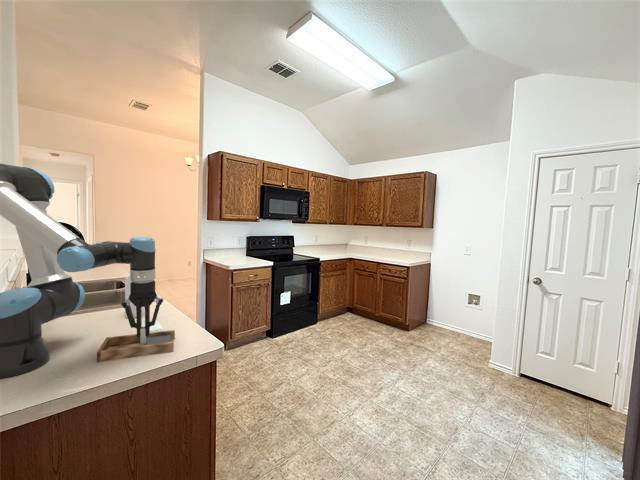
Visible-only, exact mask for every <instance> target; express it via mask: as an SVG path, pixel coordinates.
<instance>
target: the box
mask: <svg viewBox="0 0 640 480" xmlns="http://www.w3.org/2000/svg"><path fill="white" fill-rule="evenodd" d="M175 332H176V331H175V329H171V330H163V331H162V330H158V331H152V332H150V334H149V336H146V339H147V337H151V336H160V335H168V334H171V342H167V343H159V344H151V345H143V346H140V337H137V333H134V334H133V333H131V334H124V335H118V336H117V335H116V336H108V337H106V338H105V339H104V341H103V342H102V344H101V345H100V347H99V349H98V350H97V352H96V363H102V362H108V361H115V360H121V359H129V358H137V357H143V356H144V357H145V356H151V355H152V356H153V355H159V354H165V353H172V352H174V347H175V338H176V336H175V335H176V333H175Z"/></svg>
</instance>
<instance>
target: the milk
mask: <svg viewBox="0 0 640 480" xmlns="http://www.w3.org/2000/svg"><path fill="white" fill-rule="evenodd" d="M131 282H132V281H131V280H130V275H129V276H127V277H126V278H124V294H125V295H124V299H125V300H127V299H128V298H129V296H130V283H131ZM130 307H131V310H132V313H133V316H134V319H136V306H135V305H134V304H133V303H132V302H131V301H130ZM124 313H125V317H124V318H125V319H128V317H127V314H126V311H125V310H124ZM143 315H145V307H142V316H143Z"/></svg>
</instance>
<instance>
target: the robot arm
mask: <svg viewBox="0 0 640 480" xmlns="http://www.w3.org/2000/svg"><path fill="white" fill-rule="evenodd" d="M54 193H55V186H54V183H53V181H52V179H51V177H49V176H48V174H46V173H45V172H42V171H41V170H37V169H34V168H31V167H26V166H18V165H11V164H5V163H0V217H2V218H4V219H5V220H7V222H9V223H10V224H12V225H13V226H15V229H16V233H17V236H18V239H19V242H20V245H21V249H22V253H23V255H24V259H25V262H26V265H27V269H28V272H29V276H30V278H31V281H30V282H29V283H28V284H27V286H26V287H20V288H16V289H10V290H5V291H2V292H0V379H4V378H11V377H13V376H18V375H22V374H25V373H28V372H31V371H33V370H36V369H38V368H39V367H42V366H43V365H45V364H47V362H49V360H50V359H51V356H50V355H51V351H50V349H49V347H48V346H47V344H46V342H45V340H44V338H43V335H42V333H43V332H42V325H44V324H47V323H49V322H51V321H55V320H56V319H59V318H61V317H66V316H68V315H70V314H71V313H74V312H76V311H77V310H79V308H81V307H82V305H83V304H84V302H85V299H86V298H85V297H86V291H85V290H84V287H83V286H82V284H79V282H78V281H74V280H73V277H72V275H69V274H68V273H78V272H84V271H88V270H92V269H95V268H100V267H104V266H105V267H106V266H110V265H115V264H127V265H129V269H130V272H129V276H130V280H131V281H132V282H131V283H130V296H129V298H128V299H127V300H122V302H121V303H120V305H121V306H122V308H123V309H124V312H125V311H126V314H127V317H128V318H127V320H128V323H129V326H130V328H131V329H133V328H134V329H136V334H137V337H140V346H143V345H145V342H146V336H149V334H150V326H153V325H155V322H156V320H157V318H158V314H159V311H160V306H161V305H162V303H163V302H164V300H165V299H164V297H159V296H158V295H157V293H156V281H155V279H156V250H157V249H156V244H155V243H156V242H155V241H156V240H155V239H154V238H153V237H150V236H144V237H143V236H137V237H136V236H135V237H130V239H129V242H122V241H112V240H111V241H110V240H108V241H98V242H96V243H94V244H90V243H88V242H86V241H85V240H84V239H82V238H81V237H79V236H78V235H77V234H75V233H73V231H71V230H70V229H68V228H67V227H66V226H64V225H62V223H60V222H59V221H57V220H56V219H54V217H52V216H50V215H49V214H48V212H47V208H48V207H49V205H50V204H51V202H50V200H51V199H52V198H53V196H54V195H53V194H54ZM65 272H67V273H65ZM130 301H131V302H132V303H133V304H134V305H135V306H136V318H134V316H133V313H132V310H131V307H130ZM154 301H155V303H156V305H155V308H154V312H153V314H152V319H151V316H150V315H151V312H150V311H151V310H150V308H151V306H152V304H153V303H154ZM142 307H144V322H145V326H141V325H142V322H143V320H142V319H143V318H142V316H143V315H142ZM135 319H136V320H135ZM151 320H152V321H151ZM150 321H151V322H150Z"/></svg>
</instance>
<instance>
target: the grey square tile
mask: <svg viewBox="0 0 640 480" xmlns="http://www.w3.org/2000/svg"><path fill="white" fill-rule="evenodd" d="M167 342H171V334H168V335H160V336H151V337H147V339H146V342H145V345H151V344H159V343H167Z"/></svg>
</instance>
